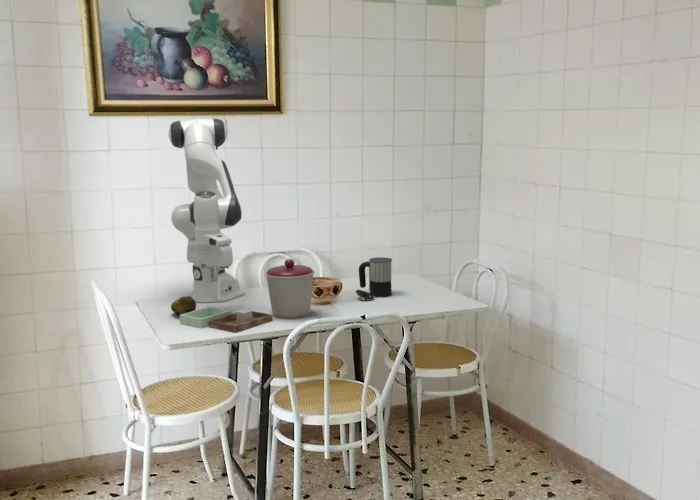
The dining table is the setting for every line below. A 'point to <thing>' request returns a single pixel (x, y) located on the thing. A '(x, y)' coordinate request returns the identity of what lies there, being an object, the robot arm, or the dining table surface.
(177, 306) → the potato
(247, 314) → the stone
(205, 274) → the stone
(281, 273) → the canister
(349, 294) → the dining table surface
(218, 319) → the walnut tray
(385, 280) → the milk frother
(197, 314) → the green bin
